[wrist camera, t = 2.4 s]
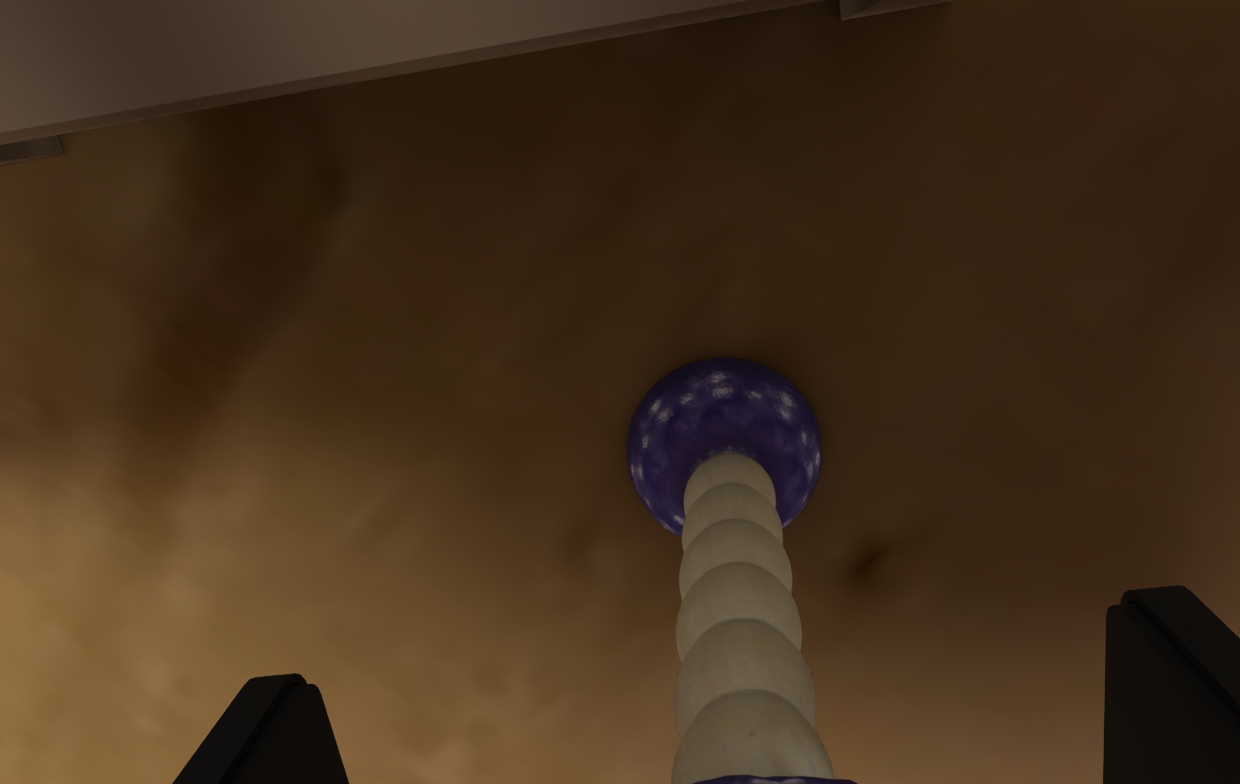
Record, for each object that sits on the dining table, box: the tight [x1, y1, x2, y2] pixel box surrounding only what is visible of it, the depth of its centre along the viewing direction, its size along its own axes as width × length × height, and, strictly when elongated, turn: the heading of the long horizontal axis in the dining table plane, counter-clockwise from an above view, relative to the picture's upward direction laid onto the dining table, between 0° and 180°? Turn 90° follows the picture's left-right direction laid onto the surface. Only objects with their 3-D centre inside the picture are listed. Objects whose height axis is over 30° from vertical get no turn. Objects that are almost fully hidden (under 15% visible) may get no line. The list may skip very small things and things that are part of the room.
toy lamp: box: [627, 358, 857, 784], centre depth 11 cm, size 5×5×17 cm
